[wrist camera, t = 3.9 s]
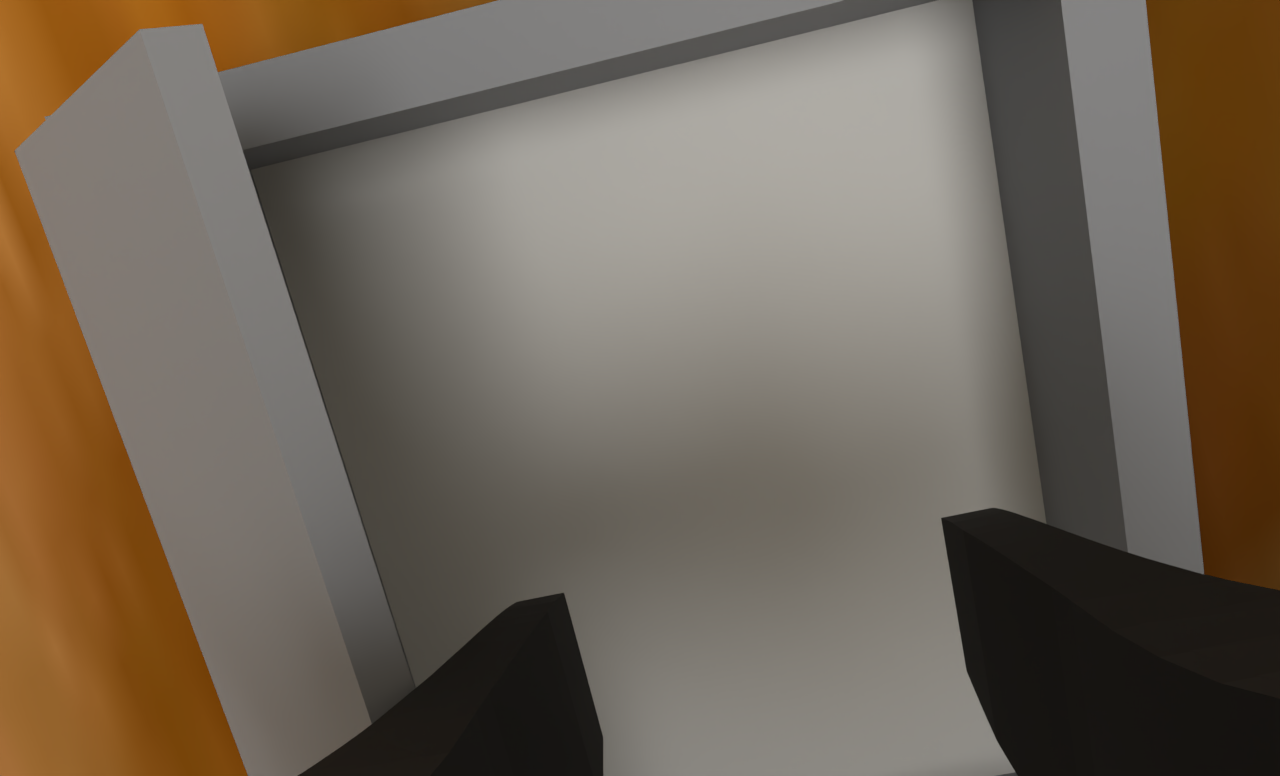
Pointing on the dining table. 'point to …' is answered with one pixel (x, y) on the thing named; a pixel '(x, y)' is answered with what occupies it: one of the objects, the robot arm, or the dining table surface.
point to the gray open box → (734, 340)
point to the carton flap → (216, 398)
